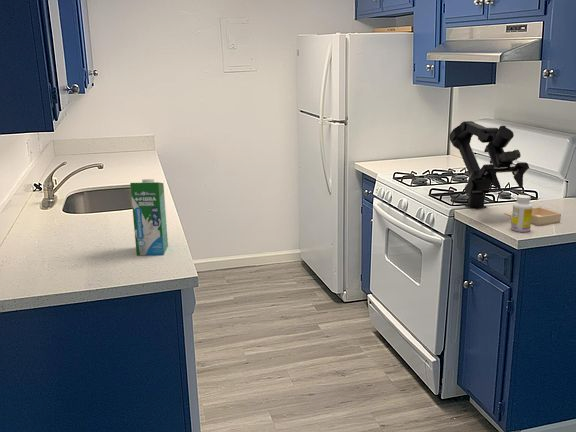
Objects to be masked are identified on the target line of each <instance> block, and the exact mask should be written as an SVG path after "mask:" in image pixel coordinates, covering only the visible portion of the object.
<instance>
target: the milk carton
mask: <svg viewBox="0 0 576 432" xmlns="http://www.w3.org/2000/svg"><path fill="white" fill-rule="evenodd" d="M129 185H130V194H131V196H130V197H131V209H132V218H133V229H134V239H135V250H136V256H164V255H165V253H166V251H167V249H168V247H169V242H168V241H169V240H168V239H169V238H168V228H167V214H166V199H165V186H164V182H158V181H157V182H155V179H153V178H145V179H142V180H141V182H131V183H130V184H129Z"/></svg>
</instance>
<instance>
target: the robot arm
mask: <svg viewBox="0 0 576 432" xmlns="http://www.w3.org/2000/svg"><path fill="white" fill-rule="evenodd" d="M514 135H515V133H514V132H513V131H512V130H511V129H510V128H508V127H507V126H506V125H500V126H499V127H498V128H497V127H485V126H483V125H481V124H478V123H476V122H475V121H472V120H470V121H462V122H461V123H460V124H459V125H457V126H456V127H455V128H453V129H452V130H451V131H450V132H449V138H448V139H449V141H450V143H451V144H452V146H453V147H454V148H456V149H457V150H458V151H459V153H460V156H461V158H462V160H463V163H464V165H465V168H466V171H467V172H468V175H469V177H468V179H467V183H466V185H465V186H464V193H466V194H468V197H467V198H468V199H467V204H464V206H465V207H467V208H470V209H472V210H478V209H485V208H487V206H486V205H485V201H486V200H485V194H489V193H490V190H491V187H492V186H493V187H495V188H496V189H497V190H499V191H500V190H501V189H502V187H501V183H500V181H499V179H498V176H497V173H499V174H500V173H511V174H512V175H513V179H514V181H515V182H516V184H517V186H518V187H519V189H523V187H524V175H525V173H527V171H528V170H529V169H530V166H529V164H528V162H525V161H523V162H517V163H515V165H514V166H511V165H513V164H514V162H515V161H517V160H518V159H520V158H521V152H520V149H514V150H511V151H510V150H509V151H505V150H504V148H506V147H507V146H508V145H509V143H510V142H511V140H512V139H513V138H514ZM474 136H475V137H477V140H478V141H479V142H480V143H483V144H484V143H485V144H487V143H488V144H487V145H486V146H485V148H484V150H483V151H484V153H487V154H488V156H489V159H490V160H489V163H490V164H483V165H482V167H481V168H480V166H479V163H478V159H476V158H477V157H476V156H475V153H474V151H473V148H472V147H471V144H470V143H471V142H472V141H471V140H472V137H474Z"/></svg>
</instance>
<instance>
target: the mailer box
mask: <svg viewBox="0 0 576 432" xmlns="http://www.w3.org/2000/svg"><path fill="white" fill-rule="evenodd" d="M512 212H513V211H510V212H508V211H507V212H504V213H503V214H504V215H505V216H510V217H512ZM561 218H562V213H560V212H556V211H553V210H550V209H548V208H544V207H542V206H541V207H540V206H535V207H532V217H531V225H534V226H537V227H539V226H548V225H553V224H558V223H561Z"/></svg>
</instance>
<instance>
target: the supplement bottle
mask: <svg viewBox="0 0 576 432" xmlns="http://www.w3.org/2000/svg"><path fill="white" fill-rule="evenodd" d="M530 201H531V196H530V195H526V194H519V195H516V201H515V202H514V203H513V205H512V211H511V212H512V216H511V225H510V226H511V230H512V231H514V232H519V233H526V232H527V233H528V232H529V231H531V226H532V224H531V217H532V208H533V204H532V203H531V202H530Z"/></svg>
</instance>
